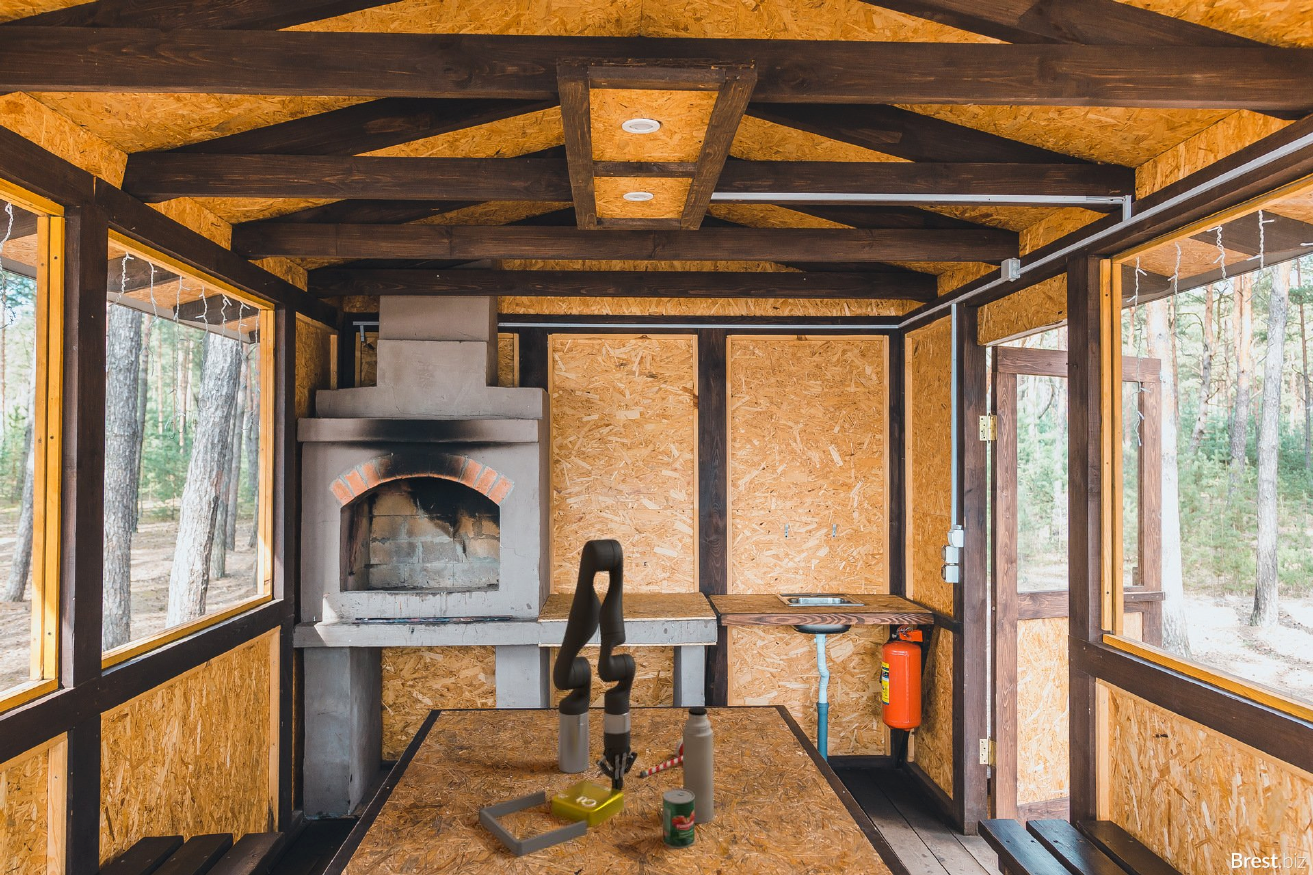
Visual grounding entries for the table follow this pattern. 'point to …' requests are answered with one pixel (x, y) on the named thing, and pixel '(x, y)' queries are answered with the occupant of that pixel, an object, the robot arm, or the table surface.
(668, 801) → the canned tomato
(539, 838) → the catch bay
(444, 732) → the table surface
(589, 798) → the element tile
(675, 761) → the toy hammer
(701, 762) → the thermos bottle
